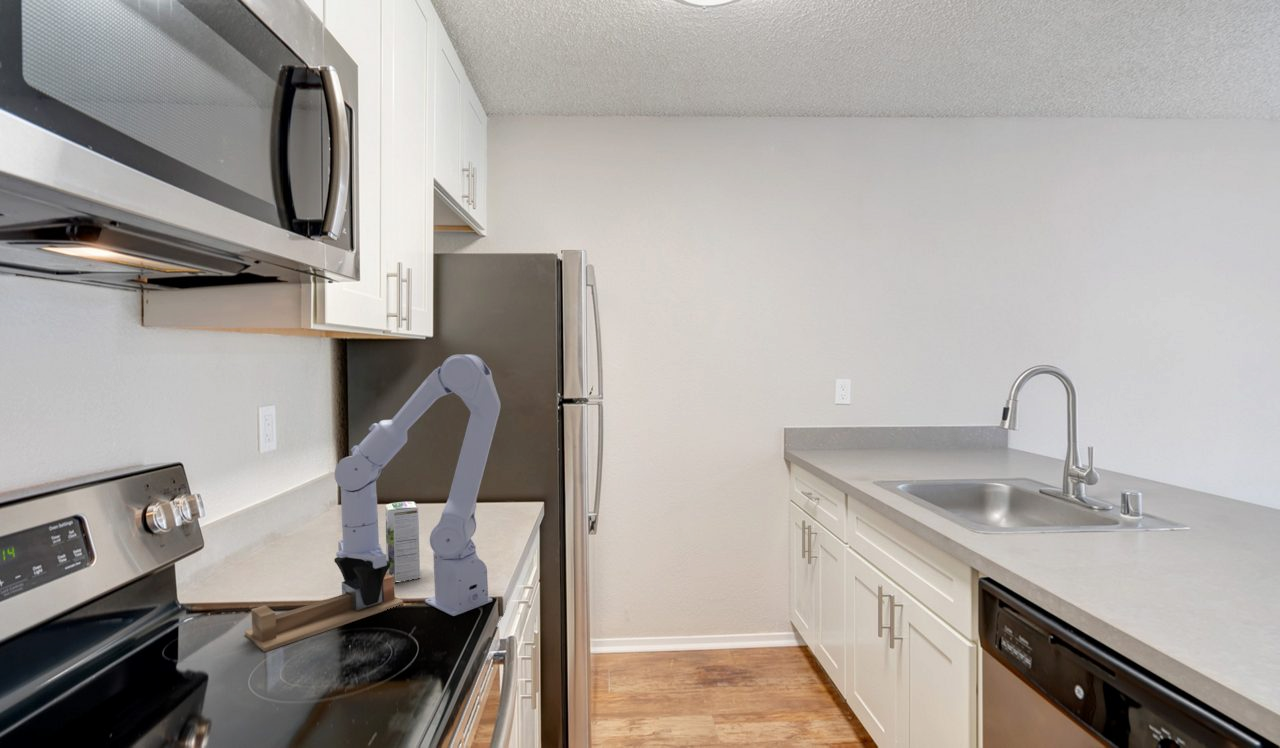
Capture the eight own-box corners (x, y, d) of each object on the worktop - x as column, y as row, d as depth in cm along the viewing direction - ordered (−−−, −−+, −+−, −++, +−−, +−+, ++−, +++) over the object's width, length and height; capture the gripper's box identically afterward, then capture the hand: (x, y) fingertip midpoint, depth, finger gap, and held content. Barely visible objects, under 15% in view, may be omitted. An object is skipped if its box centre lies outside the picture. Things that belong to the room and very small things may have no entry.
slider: (382, 602, 108) (381, 581, 108) (356, 610, 105) (355, 589, 104) (367, 594, 112) (367, 574, 111) (342, 602, 108) (341, 582, 108)
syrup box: (386, 575, 123) (383, 503, 123) (417, 569, 126) (414, 499, 126) (389, 584, 118) (386, 510, 118) (421, 578, 121) (418, 505, 120)
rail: (403, 604, 109) (402, 578, 109) (264, 652, 93) (263, 621, 92) (379, 591, 115) (378, 567, 115) (245, 634, 99) (243, 606, 98)
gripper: (319, 520, 109) (322, 595, 110) (355, 535, 100) (359, 618, 100) (359, 512, 115) (362, 583, 115) (397, 525, 105) (400, 603, 106)
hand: (363, 599), depth 108 cm, fingers closed on slider, 6 cm apart
